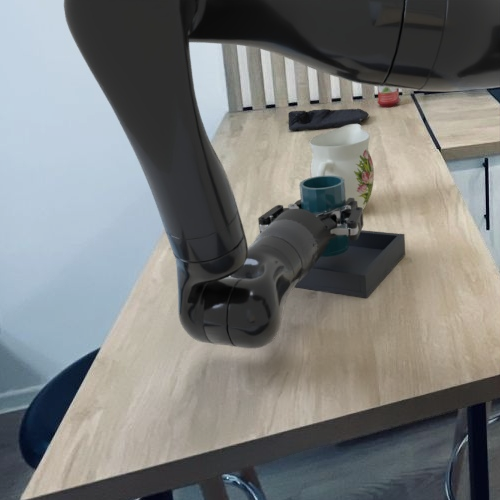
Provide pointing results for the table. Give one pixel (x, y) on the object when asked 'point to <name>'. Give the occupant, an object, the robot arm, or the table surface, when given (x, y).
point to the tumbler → (325, 204)
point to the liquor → (388, 96)
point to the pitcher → (345, 160)
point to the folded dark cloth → (324, 118)
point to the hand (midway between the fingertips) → (328, 203)
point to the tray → (357, 265)
